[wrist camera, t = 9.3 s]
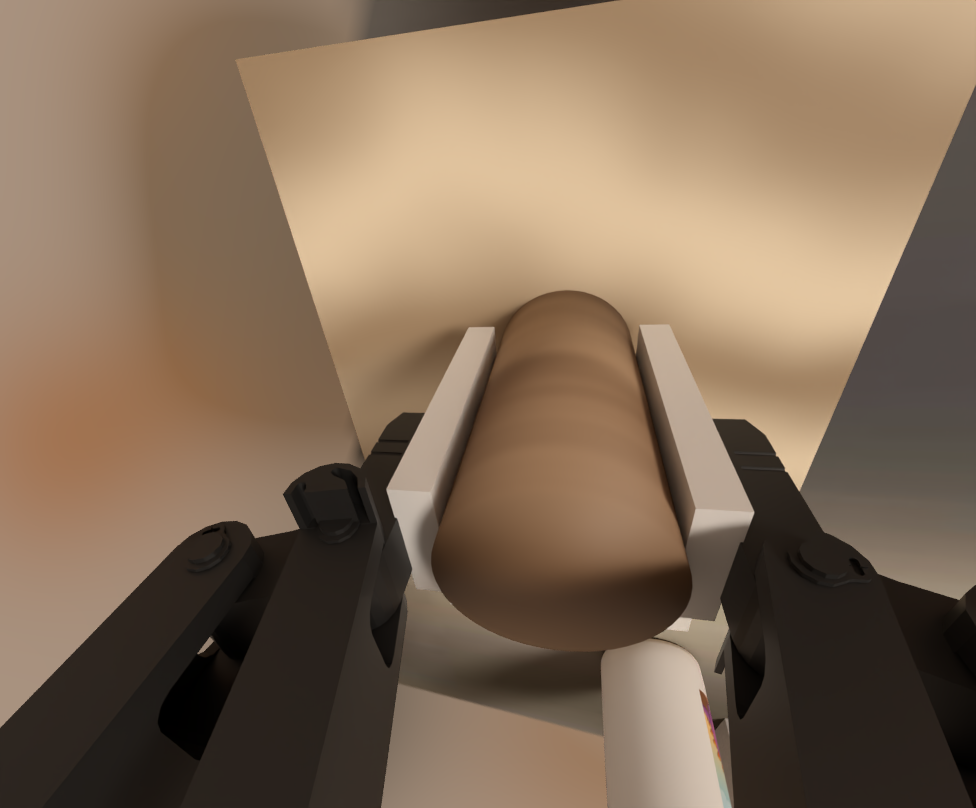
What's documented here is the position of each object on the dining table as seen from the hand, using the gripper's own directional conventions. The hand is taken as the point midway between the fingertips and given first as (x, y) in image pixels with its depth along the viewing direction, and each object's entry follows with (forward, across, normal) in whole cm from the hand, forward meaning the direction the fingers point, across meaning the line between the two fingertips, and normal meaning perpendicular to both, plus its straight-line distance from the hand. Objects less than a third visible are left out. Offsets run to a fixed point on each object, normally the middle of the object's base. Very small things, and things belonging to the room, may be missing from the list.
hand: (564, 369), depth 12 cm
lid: (+2, 0, 0) cm, 2 cm away
